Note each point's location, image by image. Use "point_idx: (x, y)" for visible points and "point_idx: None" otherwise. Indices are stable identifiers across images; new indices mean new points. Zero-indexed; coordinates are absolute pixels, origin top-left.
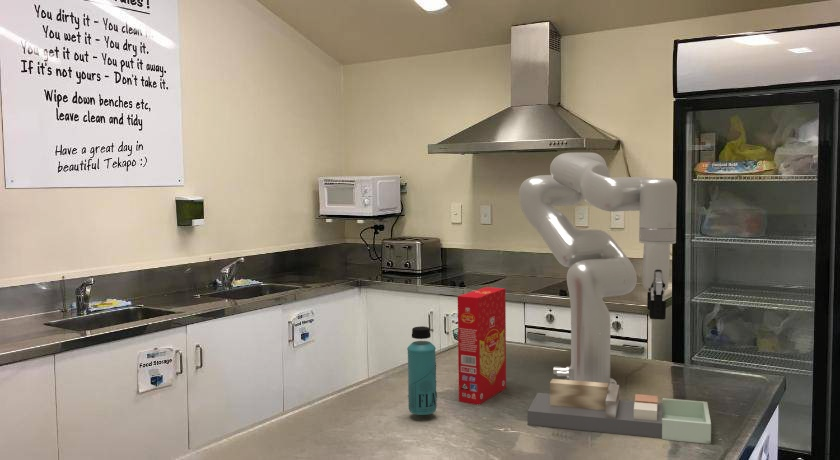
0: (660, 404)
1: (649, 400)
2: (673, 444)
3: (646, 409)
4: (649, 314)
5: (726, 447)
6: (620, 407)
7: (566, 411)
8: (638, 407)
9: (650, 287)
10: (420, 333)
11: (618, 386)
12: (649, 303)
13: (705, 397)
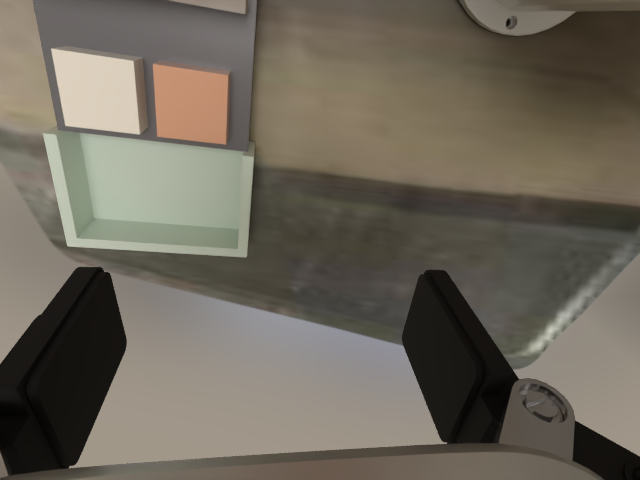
0: (235, 145)
1: (168, 114)
2: None
3: (66, 93)
4: (75, 282)
5: (83, 247)
6: (168, 10)
7: None
8: (76, 68)
9: (494, 440)
10: None
11: (220, 7)
12: (434, 308)
13: (406, 250)
